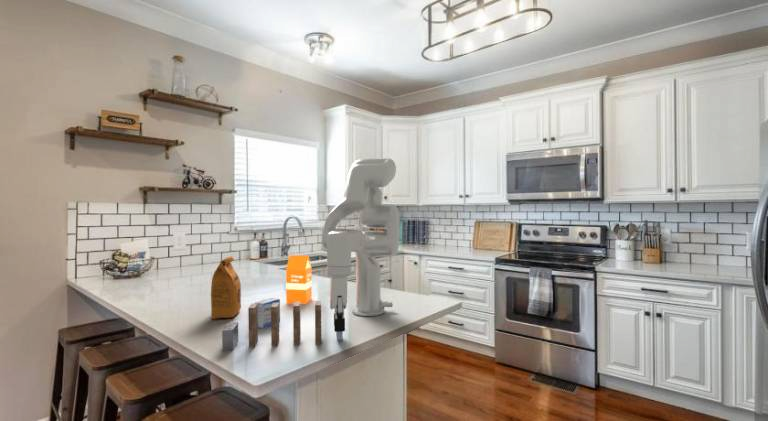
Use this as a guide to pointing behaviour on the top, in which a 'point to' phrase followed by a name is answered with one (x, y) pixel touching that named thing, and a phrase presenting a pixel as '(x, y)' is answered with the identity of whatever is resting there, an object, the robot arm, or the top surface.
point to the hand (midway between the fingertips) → (339, 327)
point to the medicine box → (266, 312)
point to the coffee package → (225, 291)
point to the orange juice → (298, 279)
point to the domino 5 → (339, 334)
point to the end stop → (230, 336)
